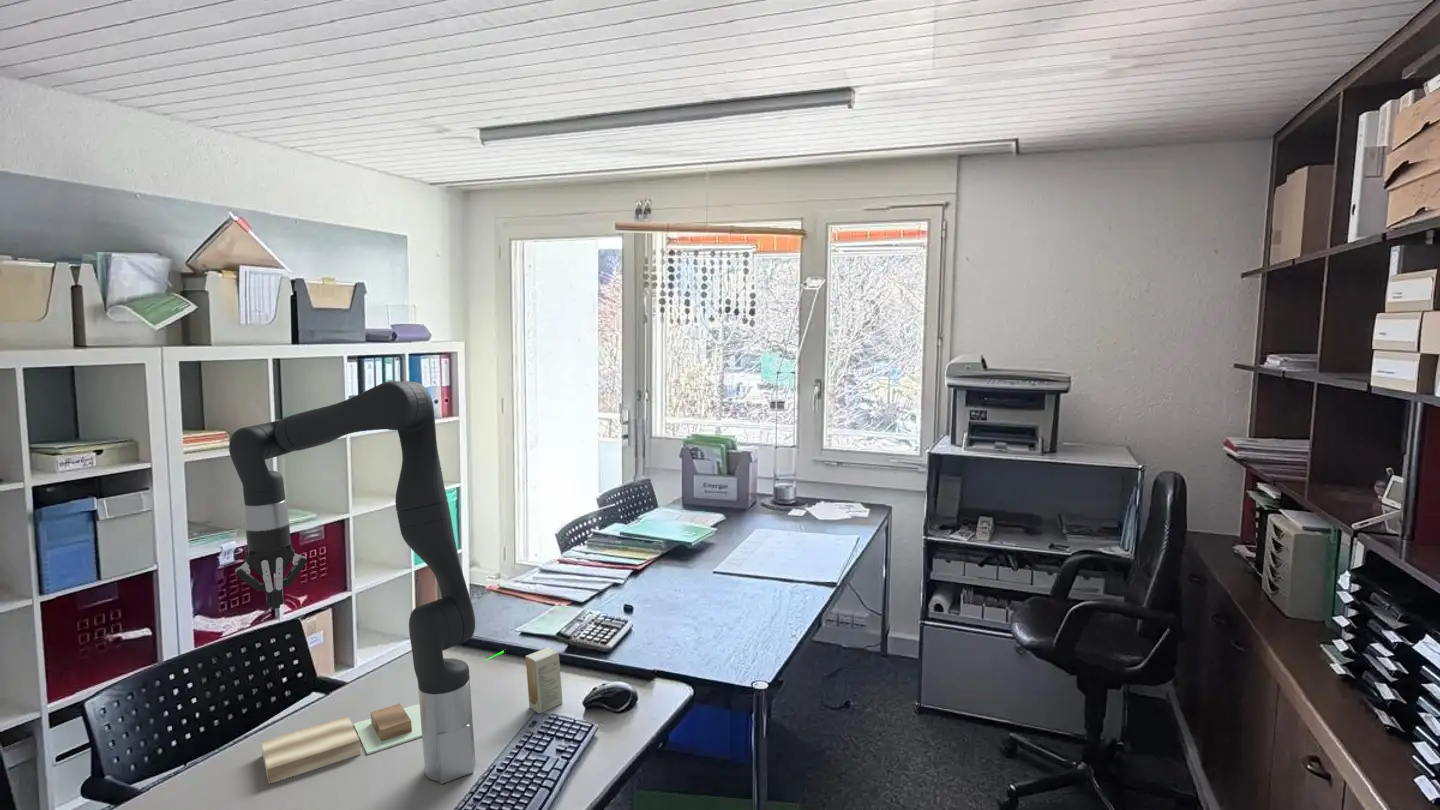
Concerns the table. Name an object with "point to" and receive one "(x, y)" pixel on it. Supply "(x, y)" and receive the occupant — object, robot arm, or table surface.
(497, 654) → the pen
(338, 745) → the beige ridged block
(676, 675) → the table surface
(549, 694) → the skincare box
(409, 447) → the robot arm
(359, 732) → the mat
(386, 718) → the brown wooden block
